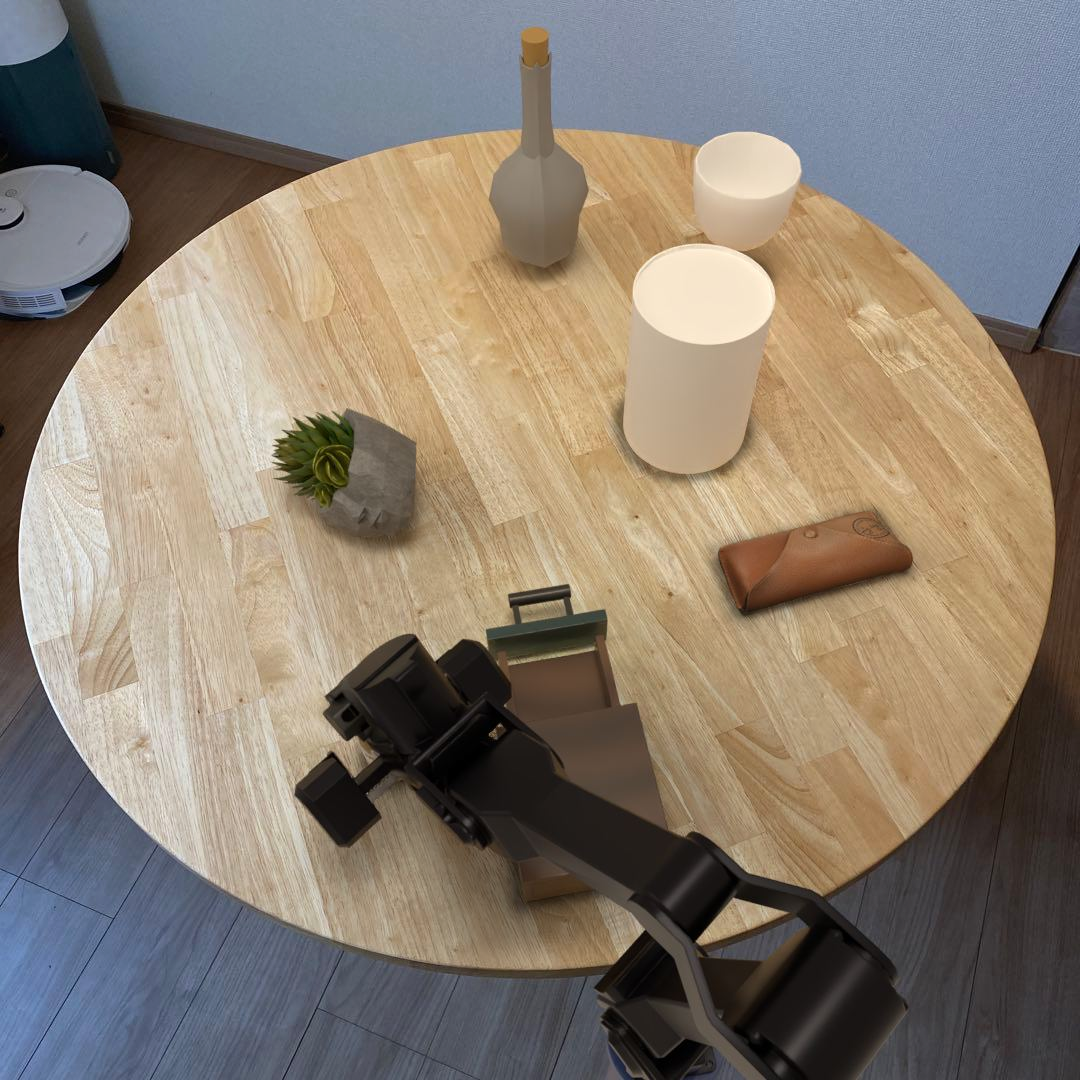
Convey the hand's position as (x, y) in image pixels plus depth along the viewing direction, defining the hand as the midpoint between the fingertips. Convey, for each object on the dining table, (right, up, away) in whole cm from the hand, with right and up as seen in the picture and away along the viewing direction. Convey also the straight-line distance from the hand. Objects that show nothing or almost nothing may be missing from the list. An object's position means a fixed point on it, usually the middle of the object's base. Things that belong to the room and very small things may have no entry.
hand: (372, 720), depth 91 cm
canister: (+31, +28, +26) cm, 49 cm away
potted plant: (-5, +19, +21) cm, 29 cm away
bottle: (+15, +51, +41) cm, 67 cm away
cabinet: (+18, -8, +2) cm, 20 cm away
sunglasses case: (+42, +13, +16) cm, 47 cm away
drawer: (+16, +3, +8) cm, 18 cm away
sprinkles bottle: (+1, -5, +5) cm, 7 cm away
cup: (+38, +48, +38) cm, 72 cm away
